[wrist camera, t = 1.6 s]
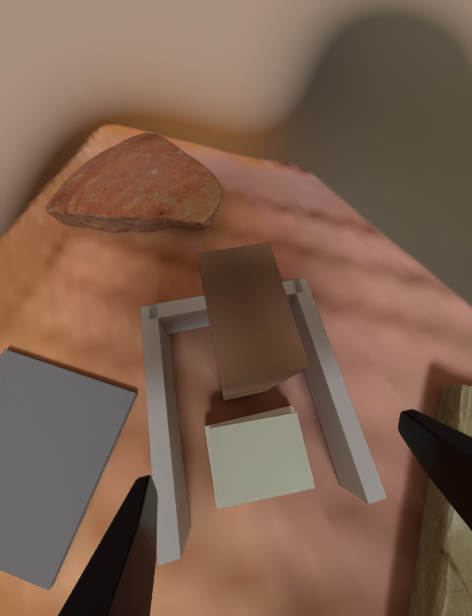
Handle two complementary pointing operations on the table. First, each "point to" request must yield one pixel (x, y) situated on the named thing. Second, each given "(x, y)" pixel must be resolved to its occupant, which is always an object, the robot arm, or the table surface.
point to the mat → (50, 459)
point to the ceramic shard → (138, 189)
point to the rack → (165, 422)
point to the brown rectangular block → (249, 320)
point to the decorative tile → (445, 533)
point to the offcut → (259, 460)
